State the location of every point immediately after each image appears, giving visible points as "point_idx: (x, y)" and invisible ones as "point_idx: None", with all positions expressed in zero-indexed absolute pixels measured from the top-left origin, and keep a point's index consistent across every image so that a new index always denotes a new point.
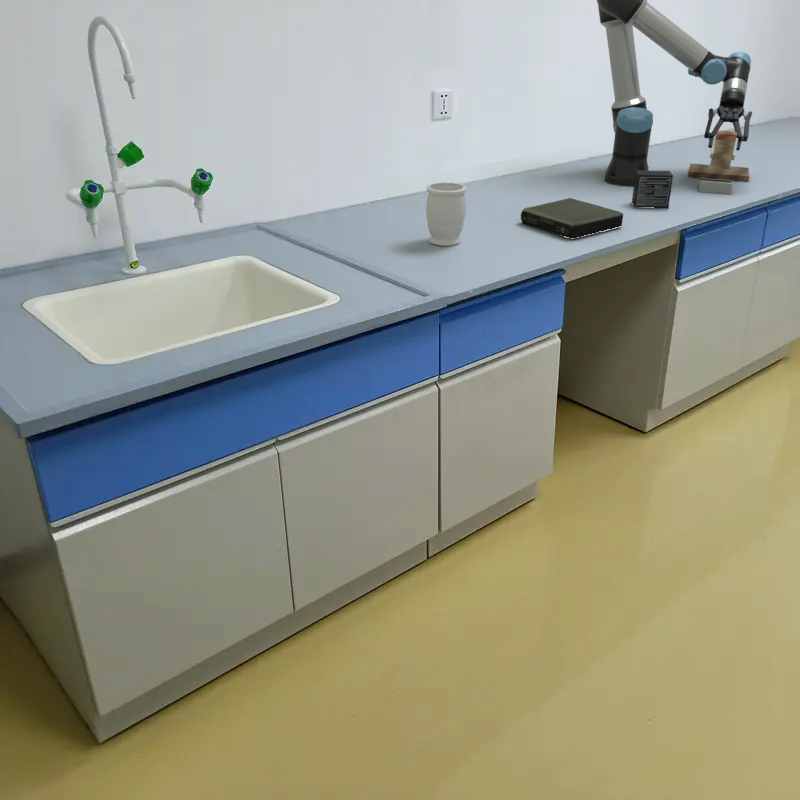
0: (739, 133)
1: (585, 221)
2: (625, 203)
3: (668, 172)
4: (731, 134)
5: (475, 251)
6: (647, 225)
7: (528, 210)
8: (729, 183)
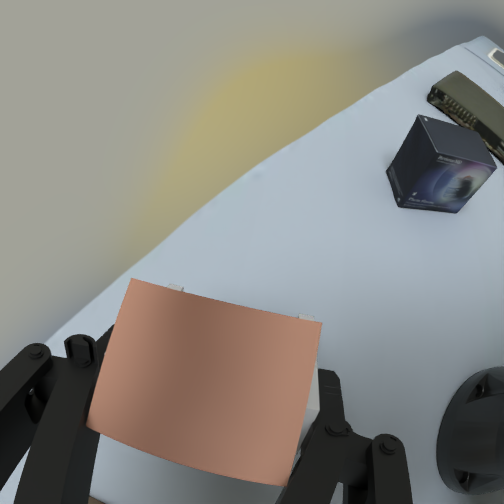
0: (73, 385)
1: (453, 73)
2: (464, 209)
3: (434, 133)
4: (178, 292)
5: (491, 85)
6: (399, 102)
7: None
8: None
